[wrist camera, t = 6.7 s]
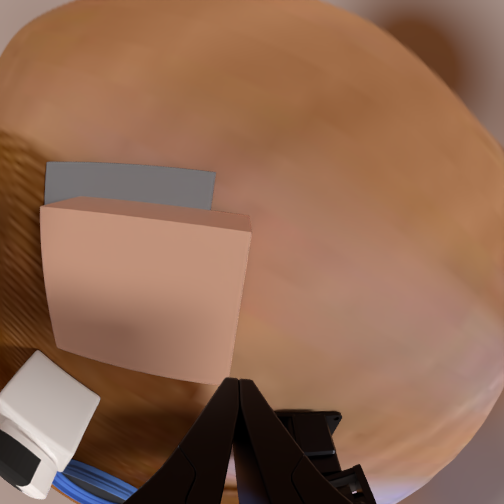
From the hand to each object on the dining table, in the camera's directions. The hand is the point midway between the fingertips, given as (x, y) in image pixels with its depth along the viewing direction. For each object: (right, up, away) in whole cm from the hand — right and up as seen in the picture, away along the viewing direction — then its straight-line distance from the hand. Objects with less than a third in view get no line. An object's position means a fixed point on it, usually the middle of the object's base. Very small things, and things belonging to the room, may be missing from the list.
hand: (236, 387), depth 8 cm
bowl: (-23, -32, +18) cm, 43 cm away
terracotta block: (0, +2, +6) cm, 6 cm away
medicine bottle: (-17, -9, +11) cm, 22 cm away
